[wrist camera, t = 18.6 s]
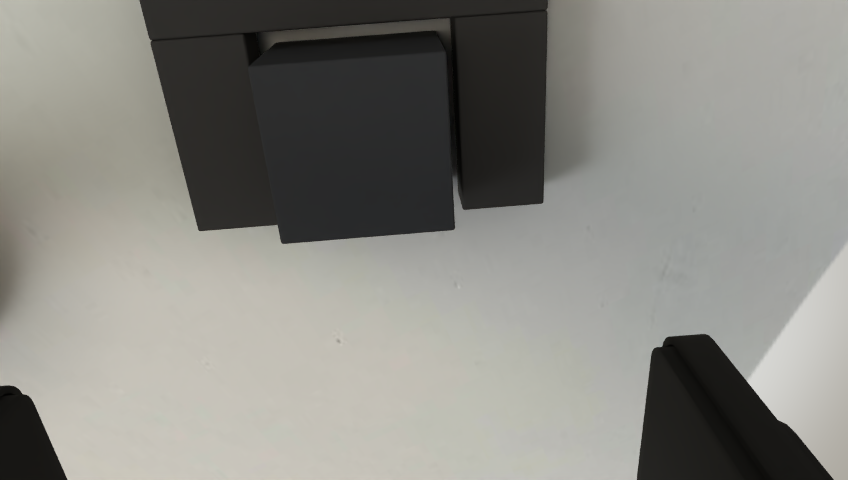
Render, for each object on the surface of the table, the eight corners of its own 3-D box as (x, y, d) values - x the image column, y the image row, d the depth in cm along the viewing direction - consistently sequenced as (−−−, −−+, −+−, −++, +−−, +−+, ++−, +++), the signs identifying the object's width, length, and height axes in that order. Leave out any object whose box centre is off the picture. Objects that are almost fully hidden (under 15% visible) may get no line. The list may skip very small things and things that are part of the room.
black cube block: (435, 30, 23) (446, 51, 19) (444, 181, 26) (455, 230, 22) (274, 42, 23) (246, 66, 19) (300, 192, 26) (281, 245, 21)
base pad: (538, -207, 20) (553, -221, 18) (533, 186, 26) (543, 204, 25) (117, -176, 20) (90, -188, 18) (211, 212, 26) (198, 232, 24)
